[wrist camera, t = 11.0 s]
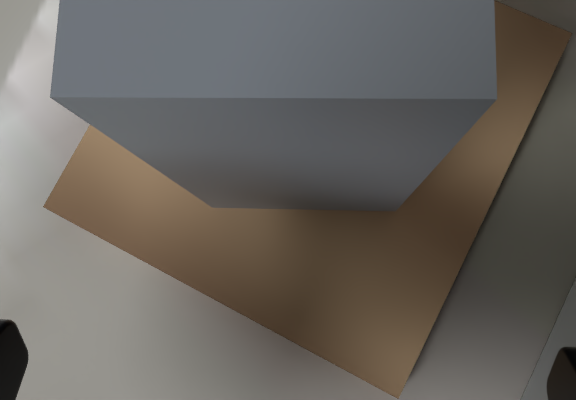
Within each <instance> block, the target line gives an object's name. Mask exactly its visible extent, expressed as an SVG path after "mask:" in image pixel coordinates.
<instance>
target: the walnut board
mask: <svg viewBox="0 0 576 400" xmlns="http://www.w3.org/2000/svg"><path fill="white" fill-rule="evenodd" d="M494 10H495V43H496V75H497V100H496V101H495V102H494V103H493V104H492V105H491V106H490V108H489V109H488V110H487V111H486V112H485V113H484V114H483V115H482V116H481V118H480V119H479V120H478V121H477V122H476V123H475V124H474V125H473V126H472V127H471V129H470V130H469V131H468V132H467V133H466V134H465V135H464V136H463V137H462V139H461V140H460V141H459V142H458V143H457V144H456V145H455V146H454V147H453V148H452V150H451V151H450V152H449V153H448V154H447V155H446V156H445V157H444V158H443V159H442V161H441V162H440V163H439V164H438V165H437V166H436V167H435V168H434V169H433V171H432V172H431V173H430V174H429V175H428V176H427V177H426V178H425V179H424V180H423V182H422V183H421V184H420V185H419V186H418V187H417V188H416V189H415V190H414V192H413V193H412V194H411V195H410V196H409V197H408V198H407V199H406V200H405V201H404V203H403V204H402V205H401V206H400V207H399V208H398V209H397V210H396V211H356V210H303V209H251V208H212V207H211V206H209V205H208V204H206V203H205V202H203V201H202V200H200V199H199V198H197V197H196V196H194V195H193V194H191V193H190V192H189V191H187V190H186V189H184V188H183V187H181V186H180V185H178V184H177V183H175V182H174V181H172V180H171V179H169V178H168V177H167V176H165V175H164V174H162V173H161V172H159V171H158V170H156V169H155V168H153V167H152V166H150V165H149V164H147V163H146V162H144V161H143V160H142V159H140V158H139V157H137V156H136V155H134V154H133V153H131V152H130V151H128V150H127V149H125V148H124V147H122V146H121V145H119V144H118V143H117V142H115V141H114V140H112V139H111V138H109V137H108V136H106V135H105V134H103V133H102V132H100V131H99V130H97V129H96V128H95V127H93V126H92V125H90V126H89V127H88V129H87V131H86V133H85V134H84V136H83V138H82V140H81V141H80V143H79V145H78V147H77V148H76V150H75V152H74V154H73V155H72V157H71V159H70V161H69V162H68V164H67V166H66V168H65V169H64V171H63V173H62V175H61V176H60V178H59V180H58V182H57V183H56V185H55V187H54V189H53V190H52V192H51V194H50V196H49V197H48V199H47V201H46V203H45V204H44V206H43V207H44V208H46V209H48V210H50V211H52V212H53V213H55V214H57V215H59V216H61V217H63V218H64V219H66V220H68V221H70V222H72V223H74V224H76V225H77V226H79V227H81V228H83V229H85V230H87V231H89V232H90V233H92V234H94V235H96V236H98V237H100V238H101V239H103V240H105V241H107V242H109V243H111V244H113V245H114V246H116V247H118V248H120V249H122V250H124V251H126V252H127V253H129V254H131V255H133V256H135V257H137V258H138V259H140V260H142V261H144V262H146V263H148V264H150V265H151V266H153V267H155V268H157V269H159V270H161V271H163V272H164V273H166V274H168V275H170V276H172V277H174V278H175V279H177V280H179V281H181V282H183V283H185V284H187V285H188V286H190V287H192V288H194V289H196V290H198V291H200V292H201V293H203V294H205V295H207V296H209V297H211V298H212V299H214V300H216V301H218V302H220V303H222V304H224V305H225V306H227V307H229V308H231V309H233V310H235V311H237V312H238V313H240V314H242V315H244V316H246V317H248V318H249V319H251V320H253V321H255V322H257V323H259V324H261V325H262V326H264V327H266V328H268V329H270V330H272V331H274V332H275V333H277V334H279V335H281V336H283V337H285V338H286V339H288V340H290V341H292V342H294V343H296V344H298V345H299V346H301V347H303V348H305V349H307V350H309V351H311V352H312V353H314V354H316V355H318V356H320V357H322V358H323V359H325V360H327V361H329V362H331V363H333V364H335V365H336V366H338V367H340V368H342V369H344V370H346V371H348V372H349V373H351V374H353V375H355V376H357V377H359V378H360V379H362V380H364V381H366V382H368V383H370V384H372V385H373V386H375V387H377V388H379V389H381V390H383V391H385V392H386V393H388V394H390V395H392V396H394V397H396V398H397V399H398V398H399V396H400V394H401V392H402V390H403V388H404V386H405V384H406V382H407V379H408V377H409V375H410V373H411V371H412V369H413V367H414V365H415V363H416V361H417V358H418V356H419V354H420V352H421V350H422V348H423V346H424V344H425V342H426V340H427V337H428V335H429V333H430V331H431V329H432V327H433V325H434V323H435V321H436V318H437V316H438V314H439V312H440V310H441V308H442V306H443V304H444V302H445V300H446V297H447V295H448V293H449V291H450V289H451V287H452V285H453V283H454V281H455V279H456V276H457V274H458V272H459V270H460V268H461V266H462V264H463V262H464V260H465V258H466V255H467V253H468V251H469V249H470V247H471V245H472V243H473V241H474V239H475V237H476V234H477V232H478V230H479V228H480V226H481V224H482V222H483V220H484V218H485V215H486V213H487V211H488V209H489V207H490V205H491V203H492V201H493V199H494V197H495V194H496V192H497V190H498V188H499V186H500V184H501V182H502V180H503V178H504V176H505V173H506V171H507V169H508V167H509V165H510V163H511V161H512V159H513V157H514V155H515V152H516V150H517V148H518V146H519V144H520V142H521V140H522V138H523V136H524V134H525V131H526V129H527V127H528V125H529V123H530V121H531V119H532V117H533V115H534V112H535V110H536V108H537V106H538V104H539V102H540V100H541V98H542V96H543V94H544V91H545V89H546V87H547V85H548V83H549V81H550V79H551V77H552V75H553V73H554V70H555V68H556V66H557V64H558V62H559V60H560V58H561V56H562V54H563V52H564V49H565V47H566V45H567V43H568V41H569V39H570V37H571V35H572V33H571V32H568V31H566V30H563V29H561V28H559V27H556V26H554V25H552V24H549V23H547V22H545V21H542V20H540V19H537V18H535V17H533V16H530V15H528V14H526V13H523V12H521V11H519V10H516V9H514V8H511V7H509V6H507V5H504V4H502V3H500V2H497V1H495V0H494Z"/></svg>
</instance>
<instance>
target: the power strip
mask: <svg viewBox="0 0 576 400" xmlns="http://www.w3.org/2000/svg"><path fill="white" fill-rule="evenodd" d="M562 347H576V278H575V280H574V283H573V285H572V287H571V289H570V291H569V294H568V296H567V298H566V300H565V303H564V305H563V307H562V309H561V311H560V314H559V316H558V318H557V320H556V323H555V325H554V327H553V329H552V331H551V334H550V336H549V338H548V340H547V343H546V345H545V347H544V349H543V351H542V354H541V356H540V358H539V360H538V363H537V365H536V367H535V369H534V371H533V374H532V376H531V378H530V380H529V383H528V385H527V387H526V389H525V391H524V394H523V396H522V398H521V400H548V396H547V388H546V385H547V378H548V375H549V373H550V370H551V368H552V365H553V363H554V360H555V358H556V355H557V353H558V351H559V350H560V349H561V348H562Z"/></svg>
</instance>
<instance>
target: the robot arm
mask: <svg viewBox="0 0 576 400" xmlns="http://www.w3.org/2000/svg"><path fill="white" fill-rule="evenodd" d="M27 364H28V350H27V348H26V345H25V343H24V341H23V339H22V336H21V334H20V332H19V330H18V327H17V325H16V324H15V323H14V322H13V321H12V320H4V319H0V400H16V397H17V394H18V391H19V388H20V385H21V382H22V379H23V376H24V373H25V370H26V367H27ZM546 388H547V396H548V400H576V347H562V348H561V349H560V350H559V351H558V353H557V355H556V358H555V360H554V363H553V365H552V368H551V370H550V373H549V375H548V378H547V385H546Z"/></svg>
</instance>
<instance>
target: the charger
mask: <svg viewBox="0 0 576 400" xmlns="http://www.w3.org/2000/svg"><path fill="white" fill-rule="evenodd" d="M50 98H52V99H53V100H55V101H56V102H58V103H59V104H61V105H62V106H64V107H65V108H67V109H68V110H70V111H71V112H72V113H74V114H75V115H77V116H78V117H80V118H81V119H83V120H84V121H86V122H87V123H89V124H90V125H92V126H93V127H95V128H96V129H97V130H99V131H100V132H102V133H103V134H105V135H106V136H108V137H109V138H111V139H112V140H114V141H115V142H117V143H118V144H119V145H121V146H122V147H124V148H125V149H127V150H128V151H130V152H131V153H133V154H134V155H136V156H137V157H139V158H140V159H142V160H143V161H144V162H146V163H147V164H149V165H150V166H152V167H153V168H155V169H156V170H158V171H159V172H161V173H162V174H164V175H165V176H167V177H168V178H169V179H171V180H172V181H174V182H175V183H177V184H178V185H180V186H181V187H183V188H184V189H186V190H187V191H189V192H190V193H191V194H193V195H194V196H196V197H197V198H199V199H200V200H202V201H203V202H205V203H206V204H208V205H209V206H211V207H212V208H251V209H303V210H356V211H396V210H397V209H398V208H399V207H400V206H401V205H402V204H403V203H404V201H405V200H406V199H407V198H408V197H409V196H410V195H411V194H412V193H413V192H414V190H415V189H416V188H417V187H418V186H419V185H420V184H421V183H422V182H423V180H424V179H425V178H426V177H427V176H428V175H429V174H430V173H431V172H432V171H433V169H434V168H435V167H436V166H437V165H438V164H439V163H440V162H441V161H442V159H443V158H444V157H445V156H446V155H447V154H448V153H449V152H450V151H451V150H452V148H453V147H454V146H455V145H456V144H457V143H458V142H459V141H460V140H461V139H462V137H463V136H464V135H465V134H466V133H467V132H468V131H469V130H470V129H471V127H472V126H473V125H474V124H475V123H476V122H477V121H478V120H479V119H480V118H481V116H482V115H483V114H484V113H485V112H486V111H487V110H488V109H489V108H490V106H491V105H492V104H493V103H494V102H495V101H496V100H497V75H496V43H495V10H494V0H60V4H59V14H58V24H57V34H56V44H55V54H54V64H53V74H52V84H51V94H50Z"/></svg>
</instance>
